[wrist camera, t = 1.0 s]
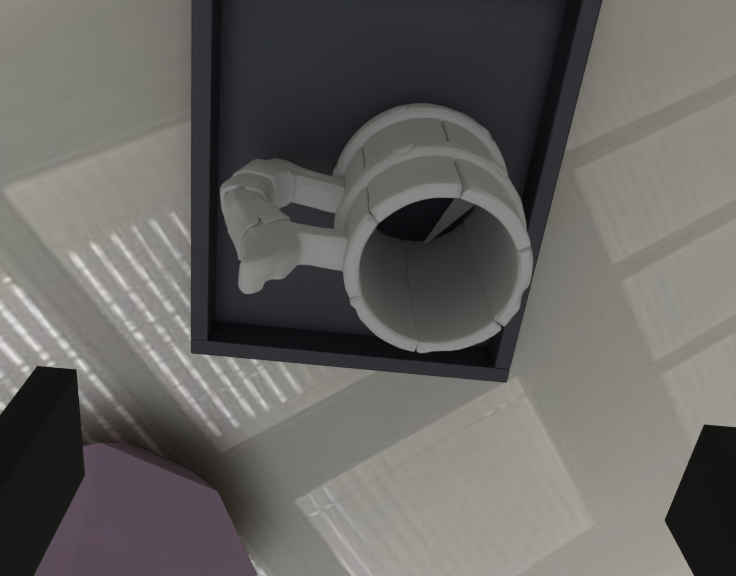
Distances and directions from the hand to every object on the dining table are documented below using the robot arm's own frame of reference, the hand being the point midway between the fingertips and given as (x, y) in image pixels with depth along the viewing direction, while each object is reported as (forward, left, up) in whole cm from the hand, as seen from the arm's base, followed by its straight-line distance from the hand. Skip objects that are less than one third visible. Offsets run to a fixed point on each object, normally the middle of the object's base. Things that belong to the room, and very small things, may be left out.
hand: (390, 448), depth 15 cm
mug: (0, 0, -19) cm, 19 cm away
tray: (0, 0, -20) cm, 20 cm away
